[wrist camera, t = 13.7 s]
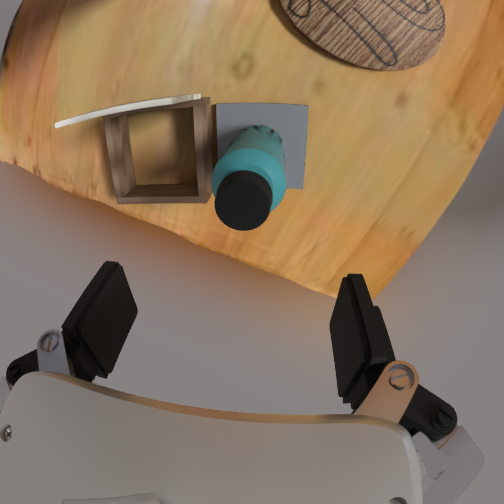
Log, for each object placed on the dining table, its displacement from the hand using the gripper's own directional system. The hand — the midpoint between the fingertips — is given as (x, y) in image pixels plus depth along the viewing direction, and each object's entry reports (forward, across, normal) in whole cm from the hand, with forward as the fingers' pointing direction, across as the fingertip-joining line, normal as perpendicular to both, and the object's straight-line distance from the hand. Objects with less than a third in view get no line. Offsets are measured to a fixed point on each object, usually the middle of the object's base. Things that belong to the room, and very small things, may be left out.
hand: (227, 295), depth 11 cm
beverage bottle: (+29, 0, 0) cm, 29 cm away
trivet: (+30, -14, -25) cm, 42 cm away
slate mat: (+30, 0, 0) cm, 30 cm away
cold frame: (+30, +14, 0) cm, 33 cm away
